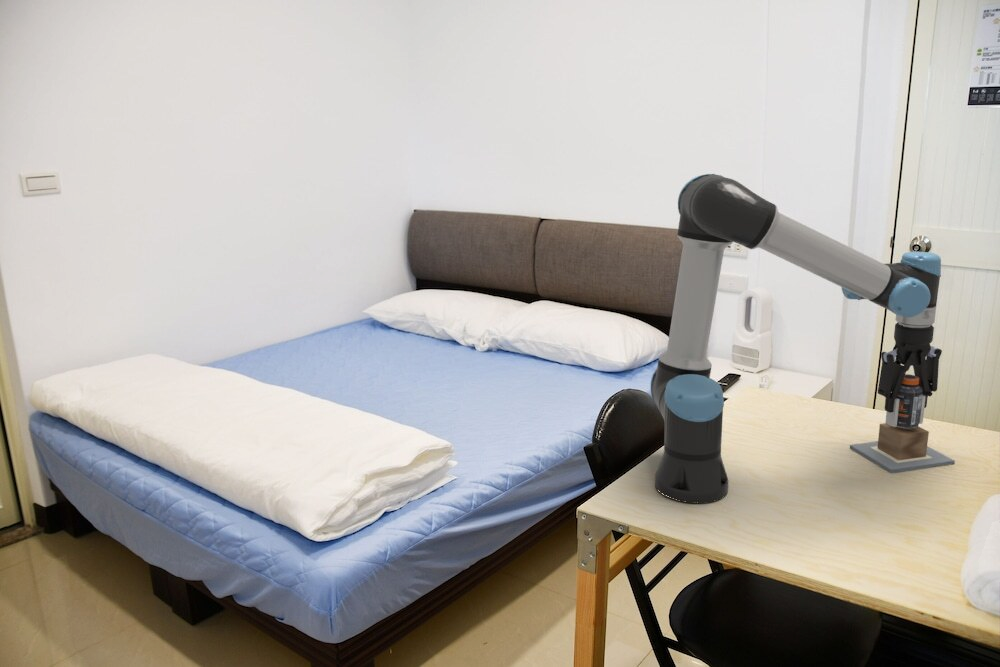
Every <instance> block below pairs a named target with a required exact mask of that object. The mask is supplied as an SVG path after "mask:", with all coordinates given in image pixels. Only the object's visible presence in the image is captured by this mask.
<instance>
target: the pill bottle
mask: <svg viewBox="0 0 1000 667" xmlns="http://www.w3.org/2000/svg"><path fill="white" fill-rule="evenodd" d="M918 384H919V377H917V376H915V374H908V373H906V374H905V376H904V379H903V381H902V384H901V387H900V389H899V392H898V395H897V397H896V398H898V399H900V400H899V409H898V419H897V427H901V428H915V427H917V426H919V425H920V424H919V418H920V410H921V402H922V393H923V390H922V388H921V387H920V386H919V385H918Z"/></svg>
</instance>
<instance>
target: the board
mask: <svg viewBox="0 0 1000 667" xmlns="http://www.w3.org/2000/svg"><path fill="white" fill-rule="evenodd" d="M849 449H851V450H852V451H853V452H856V453H857V454H858V455H860V456H862V457H864V458H866V459H867V460H869V461H870V462H872V463H874V464H875V465H877V466H879V467H880V468H882V469H884V471H887V472H888V473H890V474H893V473H894V474H895V473H901V472H907V471H908V472H909V471H914V470H922V469H928V468H935V467H936V466H937V467H943V466H942V465H944V466H949V464H951V465H955V460H954V459H952V458H950V457H949V456H947V455H945V454H943V453H941V452H939V451H937V450H936V449H934V448H931V447H929V446H928V445H927V452H926V457H919V458H912V459H905V460H897V459H895V458H894V457H892V456H890V455H888V454H887V453H885V452H883V451H881V450H880V449H878V440H876V441H871V442H861V443H855V444H853V443H852V444H849Z"/></svg>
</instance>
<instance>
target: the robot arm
mask: <svg viewBox="0 0 1000 667" xmlns="http://www.w3.org/2000/svg"><path fill="white" fill-rule="evenodd" d="M677 209H678V214H679V222H678V228H677V235H676V236H677V238H678V239H679V240H680V242H681V243H682V251H681V256H680V263H679V269H678V276H677V283H676V289H675V296H674V303H673V308H672V315H671V316H672V317H671V321H670V322H671V323H670V328H669V335H668V341H667V347H666V350H665V351H664V352H662V353H661V354H660V355H658V361H657V362H658V363H657V367H656V369H655V370H654V371H653V374H652V376H651V378H650V393H651V398H652V400H653V402H654V404H655V405H656V406H657V408H658V411H659V412H660V414H661V416H662V418H663V420H664V438H663V439H664V441H663V442H664V443H663V445H664V446H663V453H662V456H661V459H660V461H659V464H658V466H657V470H656V472H655V476H654V487H655V486H656V487H655V489H656V488H657V489H658V490H659V491H660V492H661V493H663V494H664V495H667V496H669V497H671V498H674V499H677V500H680V501H686V502H696V503H695V504H704V503H703V502H708V503H711V502H710V501H713V502H715V501H714V500H717V499H719V500H721V499H723V498H724V497H726V495H727V494H728V492H729V477H728V474H727V471H726V468H725V465H724V462H723V458H722V434H723V433H722V432H723V417H724V416H723V415H724V414H723V413H724V405H725V399H724V392H723V391H724V390H723V388H722V385H720V383H718V382H717V381H716V380H714V379H713V378H710V377H711V373H712V366H713V365H712V364H713V363H711V361H710V359H709V358H708V357H707V353H708V347H709V342H710V341H709V339H710V335H711V329H712V322H713V317H714V311H715V305H716V301H717V293H718V288H719V281H720V277H721V271H722V270H721V269H722V264H723V260H724V258H723V257H724V251H725V249H726V248H728V247H730V246H731V245H732V244H733V243H736V244H737V245H741V246H743V247H745V248H747V249H749V250H755V249H761V250H763V251H766V252H767V253H770V254H772V255H774V256H776V257H778V258H780V259H782V260H784V261H786V262H788V263H791V264H793V265H795V266H797V267H798V268H801V269H803V270H806V271H807V272H809V273H812V274H813V275H815V276H817V277H820V278H821V279H824V280H827V281H828V282H830V283H832V284H834V285H837V286H839V287H840V288H841V292H842V294H843V296H844V297H845V298H846V299H848V300H858V301H862V300H867V301H869V302H872V303H874V304H876V305H877V306H880V307H881V308H884V309H886V310H888V311H890V312H891V313H893V314H894V315H895V321H896V323H895V324H894V332H893V339H894V342H895V343H894V347H893V348H892V350H891V351H882V352H880V356H881V367H880V374H879V375H880V376H879V379H878V380H879V381H878V388H877V394H878V395H879V396H880V395H881V396H883V397H884V398H885V401H884V410H885V411H886V414H885V422H884V423H887V424H889V425H890V426H892V427H897V419H898V409H899V400H900V399H898V398H896V397H897V395H898V392H899V389H900V387H901V384H902V381H903V379H904V376H905V374H907V372H908V371H909V370H910V368H911V366H912V368H913V373H914V374H913V375H915V376H917V377H919V384H918V385H919V386H920V387H921V388H922V390H923V393H922V402H921V410H920V418H919V425H920V424H921V425H922V424H924V423H923V421H924V412H925V409H926V408H927V407H928V398H929V397H932V396H933V392H937V390H938V380H939V369H940V368H939V366H940V365H939V364H940V358H941V356H942V352H943V350H942V349H941V348H938V347H936V346H931V343H933V341H934V340H933V339H934V332H935V327H934V326H933V325H934V324H935V320H936V313H937V312H936V311H937V303H938V294H939V288H940V279H941V276H942V274H941V272H942V263H941V262H942V259H941V256H939V254H936V253H935V252H929V251H910V252H909V251H908V252H905V253H903V254H902V255H901V259H900V262H896V263H882V262H880V261H879V260H877V259H874V258H873V257H871V256H869V255H866V254H864V253H862V252H861V251H859V250H856V249H854V248H852V247H850V246H848V245H846V244H844V243H843V242H840V241H837V240H836V239H834V238H833V237H830V236H828V235H825V233H824V234H823V233H821V232H819V231H817V230H816V229H813V228H811V227H809V226H807V225H806V224H803V223H801V222H799V221H797V220H795V219H793V218H791V217H790V216H789V217H788V216H786V215H784V214H783V213H782V212H781V213H780V212H779V209H778V206H777V205H776V204H775V203H773V202H770V201H769V200H766V199H765V198H763V197H761V196H760V195H759V194H756V193H755V192H753V191H752V190H750V189H749V188H748V187H746V186H745V185H743V184H742V183H740V182H739V181H737V180H735V179H733V178H729V177H725V176H724V175H721V174H720V175H719V174H715V173H706V174H700V175H697V176H695V177H693V178H691V179H690V180H689V181H687V183H685V184H684V186H683V187H682V188H681V190H680V192H679V194H678V198H677ZM657 489H656V490H657ZM658 490H657V491H658ZM661 493H660V494H661ZM664 495H663V496H664ZM723 496H724V497H723ZM722 497H723V498H722ZM720 498H721V499H720ZM680 501H679V502H680ZM717 501H718V500H717ZM686 502H685V503H686ZM697 502H698V503H697ZM701 502H702V503H701Z"/></svg>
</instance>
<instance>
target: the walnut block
mask: <svg viewBox="0 0 1000 667" xmlns="http://www.w3.org/2000/svg"><path fill="white" fill-rule="evenodd" d="M878 430H879V431H878V438H877V441H878V449H880V450H881V451H883V452H885V453H887V454H888V455H890V456H892V457H894V458H895V459H897V460H905V459H912V458H919V457H926V452H927V446H928V442H929V433H930V432H929V430H927V429H924V428H923V427H920V426H919V425H918V426H917V427H915V428H901V427H892V426H890V425H889V424H887V423H885V422H884V423H880V424H879V429H878Z"/></svg>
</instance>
